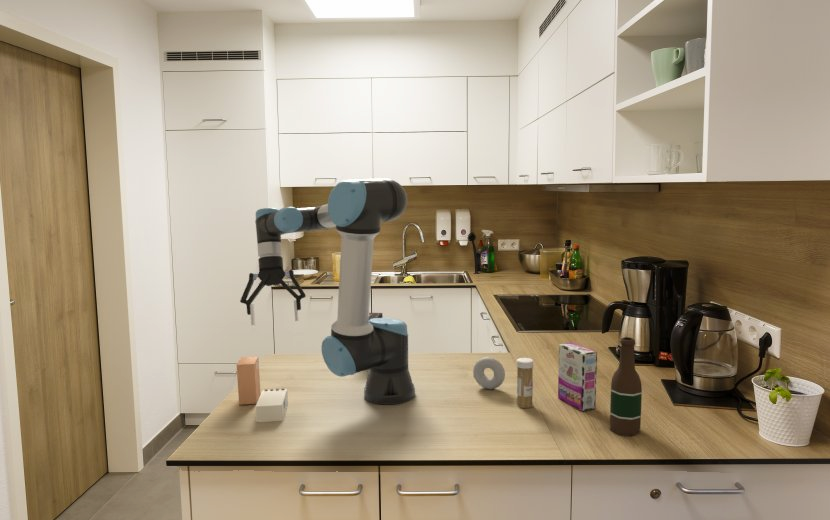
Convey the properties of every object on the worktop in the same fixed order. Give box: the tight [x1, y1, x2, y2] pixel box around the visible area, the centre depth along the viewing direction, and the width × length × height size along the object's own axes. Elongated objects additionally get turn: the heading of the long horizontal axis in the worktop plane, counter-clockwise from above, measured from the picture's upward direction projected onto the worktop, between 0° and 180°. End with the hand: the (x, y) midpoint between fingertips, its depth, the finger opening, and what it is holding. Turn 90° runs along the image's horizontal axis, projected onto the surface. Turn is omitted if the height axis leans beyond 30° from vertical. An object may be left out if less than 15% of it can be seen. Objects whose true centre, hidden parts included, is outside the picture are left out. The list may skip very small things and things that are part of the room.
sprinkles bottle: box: [516, 357, 534, 409], centre depth 165 cm, size 5×5×13 cm
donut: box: [472, 356, 506, 390], centre depth 179 cm, size 10×4×10 cm, turn 65°
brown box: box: [236, 356, 262, 406], centre depth 173 cm, size 5×7×12 cm
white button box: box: [255, 387, 289, 423], centre depth 164 cm, size 7×12×5 cm, turn 6°
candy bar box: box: [557, 342, 598, 412], centre depth 166 cm, size 11×5×16 cm, turn 23°
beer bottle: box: [609, 336, 643, 437], centre depth 147 cm, size 8×8×24 cm
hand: (275, 323), depth 186 cm, fingers open, 13 cm apart
